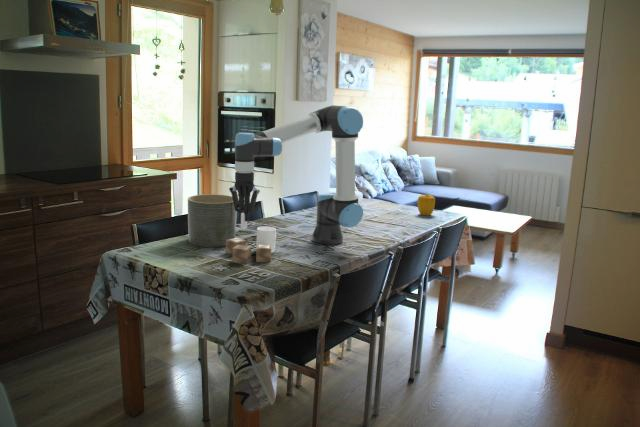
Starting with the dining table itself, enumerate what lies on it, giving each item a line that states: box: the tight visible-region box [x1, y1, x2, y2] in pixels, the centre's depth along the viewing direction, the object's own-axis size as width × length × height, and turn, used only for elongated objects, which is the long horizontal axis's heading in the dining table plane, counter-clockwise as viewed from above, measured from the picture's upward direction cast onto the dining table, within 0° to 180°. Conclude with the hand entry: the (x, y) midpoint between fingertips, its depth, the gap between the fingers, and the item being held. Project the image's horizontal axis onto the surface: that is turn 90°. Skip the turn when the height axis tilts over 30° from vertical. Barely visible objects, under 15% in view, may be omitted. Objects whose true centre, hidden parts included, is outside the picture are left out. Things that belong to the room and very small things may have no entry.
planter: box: [187, 193, 238, 248], centre depth 252 cm, size 22×22×20 cm
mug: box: [255, 225, 277, 254], centre depth 243 cm, size 12×8×10 cm
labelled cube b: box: [255, 244, 272, 263], centre depth 229 cm, size 6×6×6 cm
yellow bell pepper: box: [417, 194, 436, 217], centre depth 338 cm, size 11×11×13 cm
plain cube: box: [232, 245, 252, 265], centre depth 226 cm, size 6×6×6 cm
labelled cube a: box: [225, 237, 247, 256], centre depth 237 cm, size 6×6×6 cm
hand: (244, 228), depth 225 cm, fingers closed
